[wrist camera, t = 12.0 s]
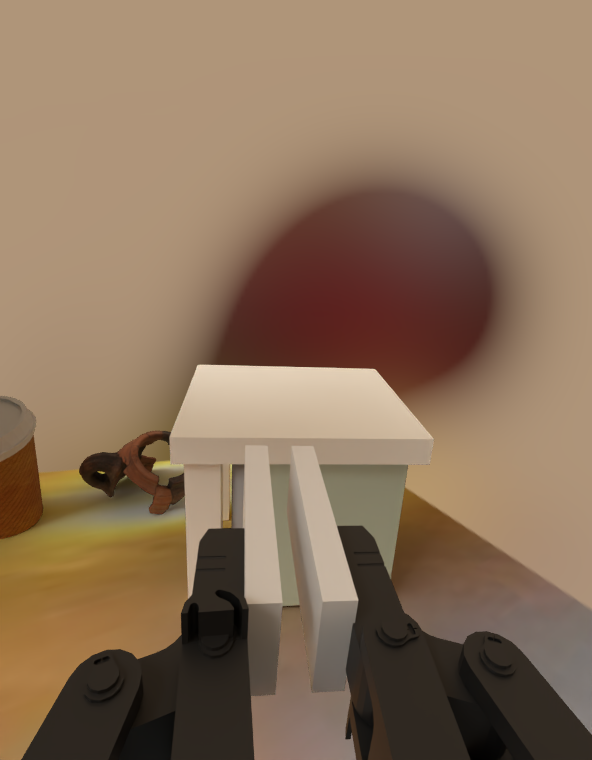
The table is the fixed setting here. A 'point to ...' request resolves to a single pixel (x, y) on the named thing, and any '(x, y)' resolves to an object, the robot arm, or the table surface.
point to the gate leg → (334, 508)
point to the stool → (283, 430)
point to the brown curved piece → (133, 472)
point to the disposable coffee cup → (18, 469)
